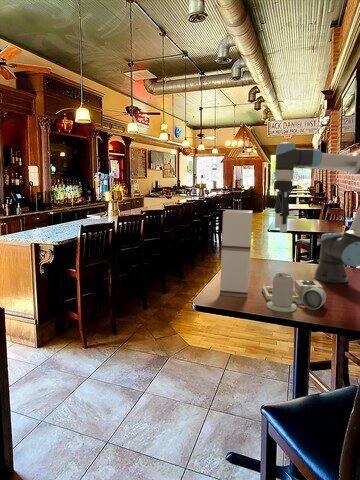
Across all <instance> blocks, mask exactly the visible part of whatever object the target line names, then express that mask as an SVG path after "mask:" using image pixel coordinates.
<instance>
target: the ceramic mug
mask: <svg viewBox="0 0 360 480" xmlns="http://www.w3.org/2000/svg"><path fill="white" fill-rule="evenodd" d="M326 300H327V293H326V292H325V290H324V289H321V288H318V287H313V288H311V289H309V290H307V291H305V292H304V294H303V296H302V298H300V299H297V300H296V302H295V303H296V304H297V305H302V304H303V306H305V307H306V308H307V309H308V310H313V311H314V310H315V311H316V310H318V309H320V308H321V307H322V306H323V305H324V304H325V302H326Z"/></svg>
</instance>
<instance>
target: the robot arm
mask: <svg viewBox="0 0 360 480" xmlns="http://www.w3.org/2000/svg"><path fill="white" fill-rule="evenodd" d="M274 167H275V168H274V169H275V170H274V172H273V175H274V181H273V182H274V183H273V189H274V190H277V192H276V199H275V206H274V212H275V214H274V215H275V217H274V228H275V229H279V232H280V233H287V231H288V217H289V215H290V204H289V203H290V200H289V197H290V193H289V192H288V191H291V190H293V183H294V182H293V179H294V169H309V170H324V171H326V170H327V171H339V172H349V173H350V174H352V175H353V174H354V175H360V153H359V152H354V153H353V154H342V153H339V154H338V153H325V152H322V151H321V150H320V149H316V148H297V147H296V144H295V143H294V142H280V143H278V144H277V145H276V150H275V166H274ZM346 266H349V267H350V266H351V267H355V268H356V267H360V205H359V206H358V209H357V211H356V212H355V215H354V218H353V221H352V223H351V225H350V227H349V229H348V230H346V231H344V232H343V233H323V234H322V235H321V238H320V251H319V262H318V265H317V268H316V269H315V272H314V279H316V281H319V282H325V283H332V284H333V283H334V284H342V283H347V282H348V274H347V269H346Z"/></svg>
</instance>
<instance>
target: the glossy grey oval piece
mask: <svg viewBox="0 0 360 480" xmlns="http://www.w3.org/2000/svg"><path fill="white" fill-rule="evenodd" d="M314 281H315V280H310V279H304V281H303V285H314Z"/></svg>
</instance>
